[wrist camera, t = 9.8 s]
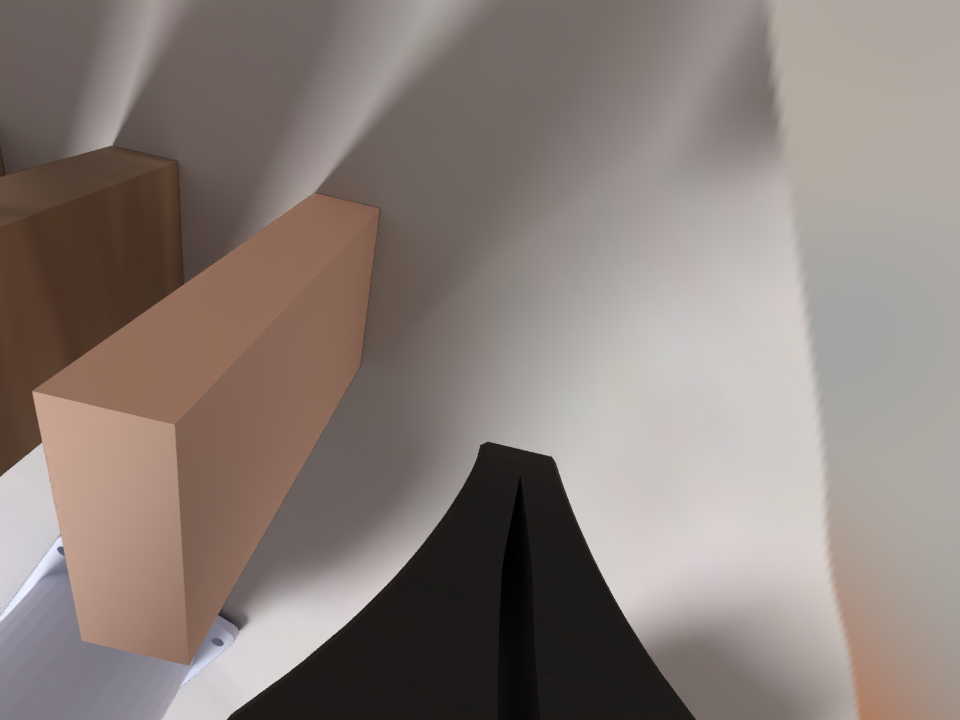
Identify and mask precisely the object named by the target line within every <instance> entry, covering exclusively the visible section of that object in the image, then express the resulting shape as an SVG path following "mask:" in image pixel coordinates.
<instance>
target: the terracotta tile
mask: <svg viewBox="0 0 960 720" xmlns="http://www.w3.org/2000/svg"><path fill="white" fill-rule="evenodd" d="M379 213H380V208H376V207H372V206H367V205H363V204H359V203H355V202H351V201H346V200H342V199H338V198H334V197H330V196H325V195H321V194H317V193H313V194H312V195H310V196H309V197H308V198H306V199H305V200H303V201H302V202H301V203H299V204H298V205H296V206H295V207H293V208H292V209H291V210H289V211H288V212H286V213H285V214H283V215H282V216H281V217H279V218H278V219H276V220H275V221H273V222H272V223H271V224H269V225H268V226H266V227H265V228H264V229H262V230H261V231H259V232H258V233H256V234H255V235H254V236H252V237H251V238H249V239H248V240H246V241H245V242H244V243H242V244H241V245H239V246H238V247H236V248H235V249H234V250H232V251H231V252H229V253H228V254H227V255H225V256H224V257H222V258H221V259H219V260H218V261H217V262H215V263H214V264H212V265H211V266H209V267H208V268H207V269H205V270H204V271H202V272H201V273H200V274H198V275H197V276H195V277H194V278H192V279H191V280H190V281H188V282H187V283H185V284H184V285H182V286H181V287H180V288H178V289H177V290H175V291H174V292H172V293H171V294H170V295H168V296H167V297H165V298H164V299H163V300H161V301H160V302H158V303H157V304H155V305H154V306H153V307H151V308H150V309H148V310H147V311H145V312H144V313H143V314H141V315H140V316H138V317H137V318H135V319H134V320H133V321H131V322H130V323H128V324H127V325H126V326H124V327H123V328H121V329H120V330H118V331H117V332H116V333H114V334H113V335H111V336H110V337H108V338H107V339H106V340H104V341H103V342H101V343H100V344H99V345H97V346H96V347H94V348H93V349H91V350H90V351H89V352H87V353H86V354H84V355H83V356H81V357H80V358H79V359H77V360H76V361H74V362H73V363H71V364H70V365H69V366H67V367H66V368H64V369H63V370H62V371H60V372H59V373H57V374H56V375H54V376H53V377H52V378H50V379H49V380H47V381H46V382H44V383H43V384H42V385H40V386H39V387H37V388H36V389H34V390H33V391H32V393H33V398H34V403H35V408H36V413H37V418H38V423H39V428H40V433H41V438H42V443H43V448H44V453H45V458H46V463H47V468H48V473H49V478H50V483H51V488H52V493H53V498H54V503H55V508H56V513H57V518H58V523H59V528H60V533H61V538H62V543H63V548H64V553H65V558H66V563H67V568H68V574H69V579H70V584H71V589H72V594H73V599H74V604H75V609H76V614H77V619H78V624H79V629H80V634H81V639H82V641H85V642H89V643H94V644H98V645H102V646H106V647H111V648H115V649H119V650H123V651H128V652H132V653H136V654H141V655H145V656H149V657H153V658H158V659H162V660H166V661H170V662H175V663H179V664H183V665H188V666H189V665H190V663H191V661H192V660H193V658H194V656H195V654H196V653H197V651H198V649H199V647H200V646H201V644H202V642H203V640H204V639H205V637H206V635H207V633H208V632H209V630H210V628H211V626H212V625H213V623H214V621H215V619H216V618H217V616H218V614H219V612H220V611H221V609H222V607H223V605H224V604H225V602H226V600H227V598H228V597H229V595H230V593H231V591H232V590H233V588H234V586H235V584H236V583H237V581H238V579H239V577H240V576H241V574H242V572H243V570H244V569H245V567H246V565H247V563H248V562H249V560H250V558H251V556H252V555H253V553H254V551H255V549H256V548H257V546H258V544H259V542H260V541H261V539H262V537H263V535H264V534H265V532H266V530H267V528H268V527H269V525H270V523H271V521H272V520H273V518H274V516H275V514H276V513H277V511H278V509H279V507H280V506H281V504H282V502H283V500H284V499H285V497H286V495H287V493H288V492H289V490H290V488H291V486H292V485H293V483H294V481H295V479H296V478H297V476H298V474H299V472H300V471H301V469H302V467H303V465H304V464H305V462H306V460H307V458H308V457H309V455H310V453H311V451H312V450H313V448H314V446H315V445H316V443H317V441H318V439H319V438H320V436H321V434H322V432H323V431H324V429H325V427H326V425H327V424H328V422H329V420H330V418H331V417H332V415H333V413H334V411H335V410H336V408H337V406H338V404H339V403H340V401H341V399H342V397H343V396H344V394H345V392H346V390H347V389H348V387H349V385H350V383H351V382H352V380H353V378H354V376H355V375H356V373H357V371H358V369H359V368H360V365H361V357H362V349H363V341H364V333H365V325H366V317H367V309H368V301H369V293H370V285H371V277H372V269H373V261H374V253H375V245H376V237H377V229H378V221H379Z"/></svg>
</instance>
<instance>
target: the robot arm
mask: <svg viewBox="0 0 960 720" xmlns="http://www.w3.org/2000/svg"><path fill="white" fill-rule="evenodd" d="M238 634H239V630H238V629H237V627H236V626H235V625H234V624H232V623H230V622H229V621H227V620H225V619H224V618H222V617H220V616H219V615H218V616H217V618H216V619H215V621H214V623H213V625H212V626H211V628H210V630H209V632H208V633H207V635H206V637H205V639H204V640H203V642H202V644H201V646H200V647H199V649H198V651H197V653H196V654H195V656H194V658H193V660H192V661H191V663H190V665H189V666H188V665H183V664H179V663H175V662H170V661H166V660H162V659H158V658H153V657H149V656H145V655H141V654H136V653H132V652H128V651H123V650H119V649H115V648H111V647H106V646H102V645H98V644H94V643H89V642H85V641H82V639H81V634H80V629H79V624H78V619H77V614H76V609H75V604H74V599H73V594H72V589H71V584H70V579H69V574H68V568H67V563H66V558H65V553H64V548H63V543H62V538H61V534H60V535H59V536H58V537H57V539H56V540H55V541H54V543H53V544H52V545H51V547H50V548H49V550H48V551H47V552H46V554H45V555H44V556H43V558H42V559H41V560H40V562H39V563H38V564H37V566H36V567H35V569H34V570H33V571H32V573H31V574H30V575H29V577H28V578H27V579H26V581H25V582H24V583H23V585H22V586H21V588H20V589H19V590H18V592H17V593H16V594H15V596H14V597H13V598H12V600H11V601H10V603H9V604H8V605H7V607H6V608H5V609H4V611H3V612H2V613H1V615H0V720H162V718H163V717H164V715H165V713H166V711H167V710H168V708H169V706H170V704H171V703H172V701H173V699H174V697H175V695H176V694H177V692H178V690H179V689H180V688H181V687H182V686H184V685H185V684H186V683H187V682H188V681H189V680H191V679H192V678H193V677H194V676H195V675H196V674H198V673H199V672H200V671H201V670H202V669H203V668H205V667H206V666H207V665H208V664H209V663H210V662H212V661H213V660H214V659H215V658H216V657H217V656H218V655H220V654H221V653H222V652H223V651H224V650H225V649H227V648H228V647H229V646H230V645H231V644H232V643H234V641H235V640H236V638H237V636H238ZM227 720H696V719H695V718H694V716H693V715H692V714H691V712H690V711H689V710H688V708H687V707H686V706H685V704H684V703H683V702H682V700H681V699H680V698H679V696H678V695H677V694H676V692H675V691H674V690H673V688H672V687H671V686H670V684H669V683H668V682H667V680H666V679H665V678H664V676H663V675H662V674H661V672H660V671H659V669H658V668H657V666H656V665H655V663H654V662H653V660H652V659H651V657H650V656H649V654H648V653H647V651H646V650H645V648H644V647H643V645H642V644H641V642H640V641H639V639H638V637H637V636H636V634H635V633H634V631H633V629H632V628H631V626H630V624H629V623H628V621H627V620H626V618H625V616H624V614H623V613H622V611H621V609H620V608H619V606H618V604H617V602H616V600H615V599H614V597H613V595H612V593H611V591H610V589H609V587H608V586H607V584H606V582H605V580H604V578H603V576H602V574H601V572H600V570H599V568H598V566H597V564H596V562H595V560H594V558H593V556H592V554H591V552H590V549H589V547H588V545H587V543H586V541H585V538H584V536H583V534H582V532H581V529H580V527H579V525H578V523H577V520H576V518H575V515H574V513H573V510H572V508H571V505H570V503H569V500H568V497H567V495H566V492H565V489H564V487H563V484H562V481H561V478H560V475H559V472H558V468H557V465H556V463H555V461H554V459H553V458H552V457H551V456H546V455H542V454H538V453H533V452H529V451H525V450H521V449H516V448H512V447H508V446H504V445H499V444H495V443H491V442H486V443H484V444H482V445H480V449H479V453H478V457H477V459H476V462H475V464H474V467H473V469H472V471H471V473H470V475H469V477H468V478H467V480H466V482H465V484H464V486H463V487H462V489H461V491H460V492H459V494H458V495H457V497H456V498H455V500H454V502H453V503H452V505H451V506H450V508H449V509H448V511H447V512H446V514H445V515H444V517H443V518H442V519H441V521H440V522H439V523H438V525H437V526H436V527H435V529H434V530H433V531H432V533H431V534H430V535H429V537H428V538H427V539H426V541H425V542H424V543H423V545H422V546H421V547H420V548H419V549H418V551H417V552H416V553H415V554H414V555H413V557H412V558H411V559H410V560H409V561H408V562H407V564H406V565H405V566H404V567H403V568H402V569H401V570H400V571H399V572H398V574H397V575H396V576H395V577H394V578H393V579H392V580H391V581H390V582H389V583H388V584H387V585H386V586H385V587H384V588H383V589H382V590H381V591H380V592H379V593H378V594H377V595H376V596H375V597H374V598H373V599H372V600H371V601H370V602H369V603H368V604H367V605H366V606H365V607H364V608H363V609H362V610H361V611H360V612H359V613H358V614H357V615H356V616H355V617H354V618H353V619H352V620H351V621H349V622H348V623H347V624H346V625H345V626H344V627H343V628H342V629H340V630H339V631H338V632H337V633H336V634H334V635H333V636H332V637H331V638H330V639H329V640H327V641H326V642H325V643H324V644H323V645H321V646H320V647H319V648H318V649H317V650H316V651H314V652H313V653H312V654H311V655H310V656H308V657H307V658H306V659H305V660H304V661H303V662H301V663H300V664H299V665H297V666H296V667H295V668H294V669H292V670H291V671H290V672H288V673H287V674H286V675H284V676H283V677H282V678H280V679H279V680H278V681H276V682H275V683H273V684H272V685H271V686H269V687H268V688H267V689H265V690H264V691H262V692H261V693H260V694H258V695H257V696H256V697H254V698H253V699H252V700H250V701H249V702H247V703H246V704H245V705H243V706H242V707H241V708H239V709H238V710H236V711H235V712H234V713H233V714H231V715H230V716H229V718H228V719H227Z"/></svg>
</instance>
